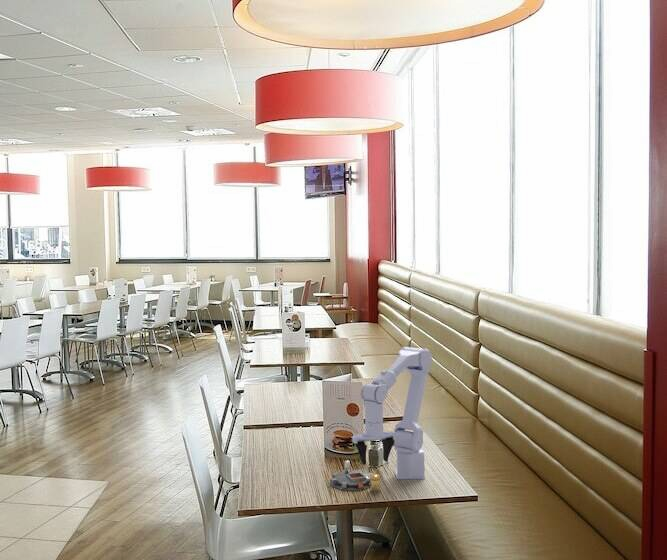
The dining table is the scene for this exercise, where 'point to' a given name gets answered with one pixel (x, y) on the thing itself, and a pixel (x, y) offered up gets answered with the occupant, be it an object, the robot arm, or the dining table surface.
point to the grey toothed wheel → (351, 477)
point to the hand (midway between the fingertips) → (374, 462)
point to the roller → (375, 483)
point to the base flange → (349, 487)
